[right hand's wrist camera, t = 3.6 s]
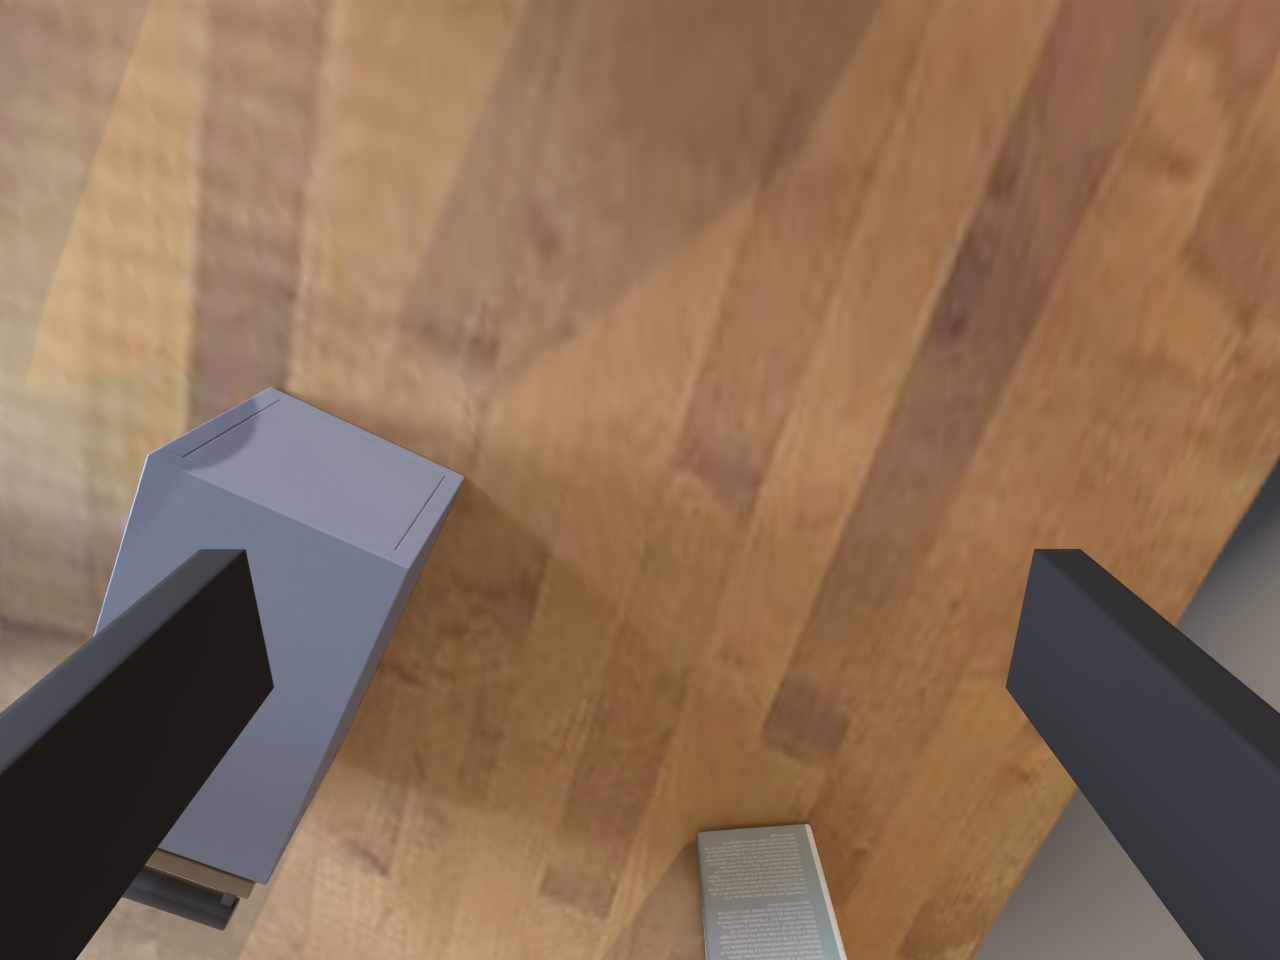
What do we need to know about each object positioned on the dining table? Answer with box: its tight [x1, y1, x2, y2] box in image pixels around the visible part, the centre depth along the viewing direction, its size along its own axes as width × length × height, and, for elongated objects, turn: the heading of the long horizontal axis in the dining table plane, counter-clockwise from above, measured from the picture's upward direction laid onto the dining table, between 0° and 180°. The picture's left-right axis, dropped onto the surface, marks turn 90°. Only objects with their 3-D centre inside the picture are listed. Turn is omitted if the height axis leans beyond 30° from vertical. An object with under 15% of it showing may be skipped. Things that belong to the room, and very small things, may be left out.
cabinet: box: [94, 387, 465, 885], centre depth 38 cm, size 19×11×10 cm, turn 153°
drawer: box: [122, 848, 257, 931], centre depth 40 cm, size 24×9×8 cm, turn 153°
